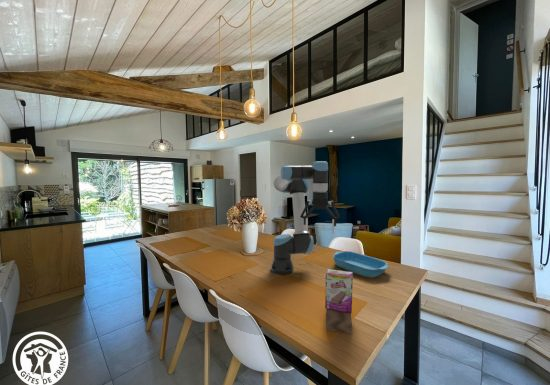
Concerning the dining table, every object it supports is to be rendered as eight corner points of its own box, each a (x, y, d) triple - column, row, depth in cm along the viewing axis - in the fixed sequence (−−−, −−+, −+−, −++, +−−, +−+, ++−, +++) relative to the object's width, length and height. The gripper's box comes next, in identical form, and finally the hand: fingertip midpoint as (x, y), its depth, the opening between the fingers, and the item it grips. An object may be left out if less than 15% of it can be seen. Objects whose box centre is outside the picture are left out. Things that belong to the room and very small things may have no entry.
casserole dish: (394, 273, 149) (394, 262, 149) (377, 283, 136) (377, 271, 135) (345, 258, 178) (345, 249, 178) (326, 265, 164) (326, 255, 164)
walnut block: (326, 329, 95) (326, 318, 94) (326, 308, 110) (327, 298, 110) (351, 333, 92) (352, 321, 92) (348, 310, 108) (349, 300, 108)
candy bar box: (325, 309, 101) (325, 272, 99) (326, 303, 105) (326, 268, 104) (352, 314, 97) (352, 276, 96) (352, 307, 102) (352, 271, 101)
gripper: (295, 191, 119) (295, 232, 121) (345, 192, 113) (344, 234, 115) (297, 190, 126) (297, 228, 128) (344, 191, 121) (343, 231, 122)
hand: (319, 231), depth 122 cm, fingers open, 13 cm apart
